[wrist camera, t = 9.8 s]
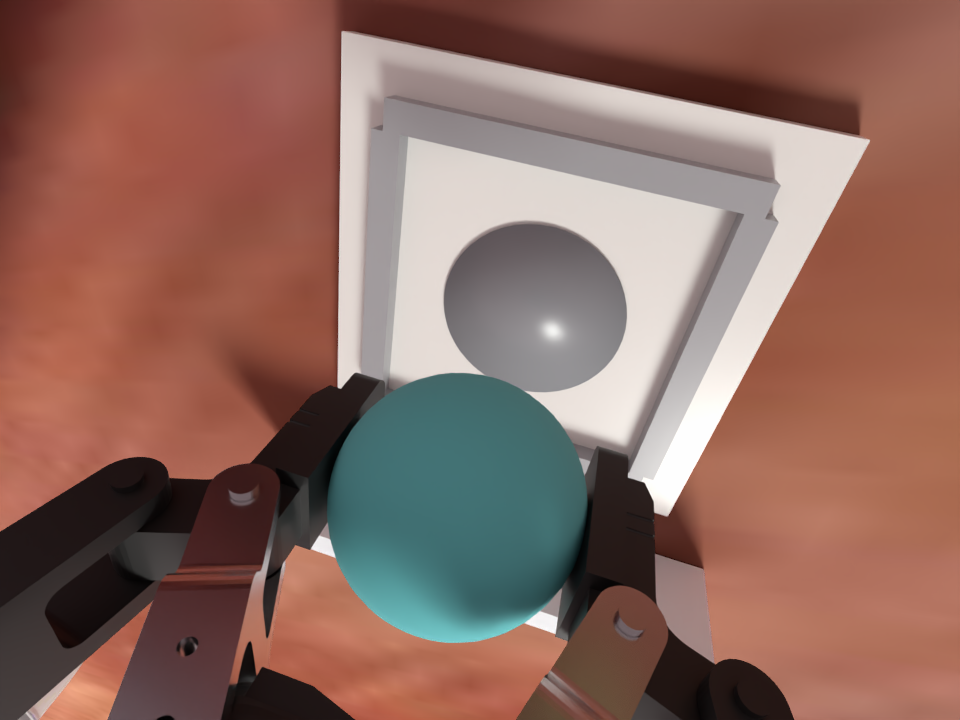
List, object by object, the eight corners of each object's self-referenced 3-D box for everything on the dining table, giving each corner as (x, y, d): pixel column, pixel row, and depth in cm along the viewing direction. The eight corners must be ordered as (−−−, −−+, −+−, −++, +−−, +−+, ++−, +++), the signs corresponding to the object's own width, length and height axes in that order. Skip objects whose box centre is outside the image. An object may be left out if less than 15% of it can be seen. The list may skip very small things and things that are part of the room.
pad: (860, 135, 15) (881, 144, 14) (666, 503, 24) (668, 530, 23) (353, 31, 17) (329, 30, 16) (344, 405, 26) (329, 424, 25)
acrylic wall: (704, 569, 26) (715, 671, 22) (694, 583, 26) (703, 685, 22) (292, 438, 29) (233, 506, 24) (293, 454, 29) (236, 523, 25)
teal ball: (645, 435, 13) (647, 659, 8) (499, 525, 16) (441, 726, 11) (475, 282, 12) (371, 440, 7) (353, 409, 15) (226, 577, 10)
